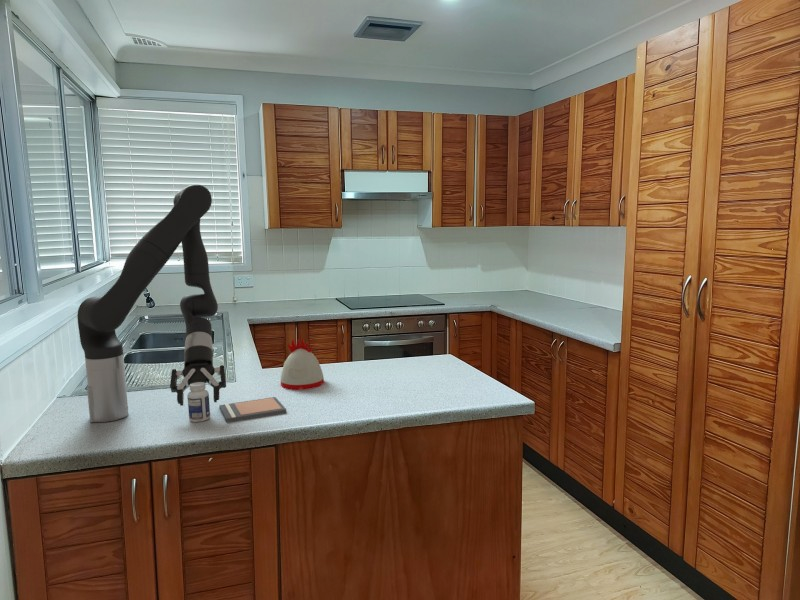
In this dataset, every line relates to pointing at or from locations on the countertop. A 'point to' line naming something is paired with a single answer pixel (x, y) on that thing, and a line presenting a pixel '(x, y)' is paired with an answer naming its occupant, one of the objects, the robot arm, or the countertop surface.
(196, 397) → the pill bottle
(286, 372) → the white and red dome
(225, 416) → the line mat
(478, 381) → the countertop surface
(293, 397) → the countertop surface
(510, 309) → the countertop surface
